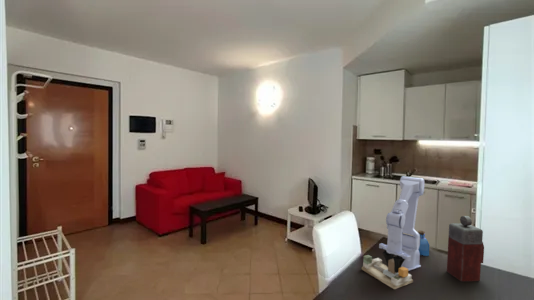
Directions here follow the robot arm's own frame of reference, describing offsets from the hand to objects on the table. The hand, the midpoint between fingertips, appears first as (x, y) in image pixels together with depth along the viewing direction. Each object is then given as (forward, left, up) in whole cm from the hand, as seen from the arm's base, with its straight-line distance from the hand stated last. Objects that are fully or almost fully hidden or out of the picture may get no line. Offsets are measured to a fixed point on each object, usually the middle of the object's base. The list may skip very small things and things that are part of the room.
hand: (393, 269), depth 118 cm
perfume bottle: (-37, -12, -5) cm, 39 cm away
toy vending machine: (-33, +12, -5) cm, 36 cm away
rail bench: (0, -4, -5) cm, 6 cm away
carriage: (0, 0, -2) cm, 2 cm away
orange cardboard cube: (-1, +4, -1) cm, 4 cm away
